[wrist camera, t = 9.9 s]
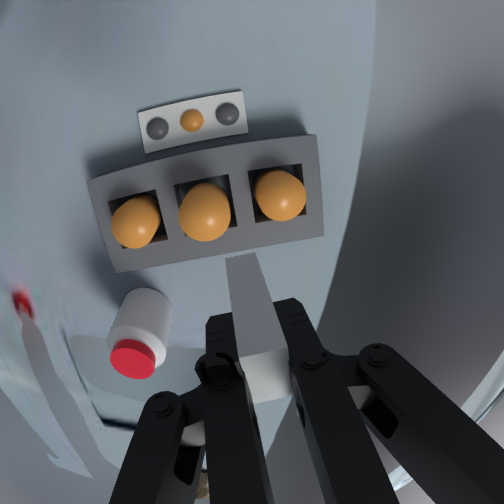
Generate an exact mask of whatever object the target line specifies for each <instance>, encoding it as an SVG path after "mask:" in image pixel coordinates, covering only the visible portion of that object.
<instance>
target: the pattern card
mask: <svg viewBox="0 0 504 504" xmlns="http://www.w3.org/2000/svg"><path fill="white" fill-rule="evenodd" d="M138 117H139V123H140V129H141V134H142V140H143V145H144V150H145V154H146V153H150V152H154V151H158V150H162V149H166V148H170V147H174V146H179V145H183V144H188V143H192V142H197V141H202V140H208V139H213V138H218V137H224V136H230V135H236V134H243V133H249V132H248V126H247V119H246V113H245V106H244V100H243V94H242V91H239V92H232V93H225V94H219V95H213V96H208V97H202V98H197V99H192V100H187V101H183V102H178V103H174V104H170V105H166V106H162V107H158V108H154V109H150V110H147V111H143V112H140V113H138Z"/></svg>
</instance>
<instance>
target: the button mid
mask: <svg viewBox="0 0 504 504" xmlns="http://www.w3.org/2000/svg"><path fill="white" fill-rule="evenodd" d="M230 217H231V215H230V208H229V201H228V197H227V195H226V193H225V192H224V190H223V189H222V188H221V187H219V186H218V185H216V184H213V183H208V182H205V183H199V184H197V185H195V186H193V187H192V188H191V189H190V190H189V191H188V192H187V194H186V195H185V198H184V200H183V202H182V204H181V206H180V208H179V213H178V220H179V224H180V226H181V228H182V230H183V231H184V233H185V234H186V235H188V236H189V237H190V238H192V239H195V240H198V241H211V240H214V239H217V238H218V237H220V236H221V235H222V234H223V233H224V232H225V231H226V230H227V228H228V226H229V223H230Z"/></svg>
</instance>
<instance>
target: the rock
mask: <svg viewBox="0 0 504 504" xmlns="http://www.w3.org/2000/svg"><path fill="white" fill-rule="evenodd" d="M202 498H209V487H208V476H207V473H203V472H201V473H200V478H199V482H198V487H197V492H196V496H195V499H202Z"/></svg>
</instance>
